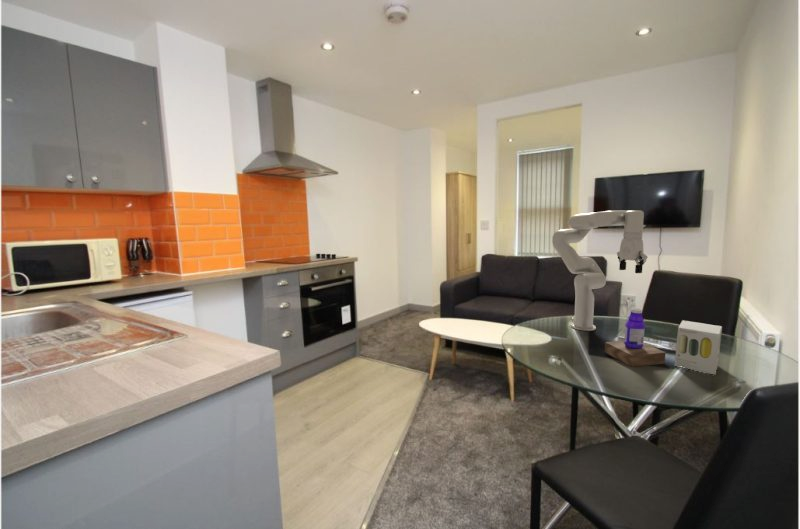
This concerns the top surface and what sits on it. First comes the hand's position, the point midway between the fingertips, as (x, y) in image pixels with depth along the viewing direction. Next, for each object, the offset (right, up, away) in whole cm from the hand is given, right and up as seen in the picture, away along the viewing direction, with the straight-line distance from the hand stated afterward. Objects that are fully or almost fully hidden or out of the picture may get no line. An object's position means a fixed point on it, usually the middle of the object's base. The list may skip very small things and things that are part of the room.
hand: (630, 271), depth 171 cm
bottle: (-7, -34, -13) cm, 37 cm away
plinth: (-7, -39, -13) cm, 41 cm away
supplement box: (+13, -40, -23) cm, 48 cm away
